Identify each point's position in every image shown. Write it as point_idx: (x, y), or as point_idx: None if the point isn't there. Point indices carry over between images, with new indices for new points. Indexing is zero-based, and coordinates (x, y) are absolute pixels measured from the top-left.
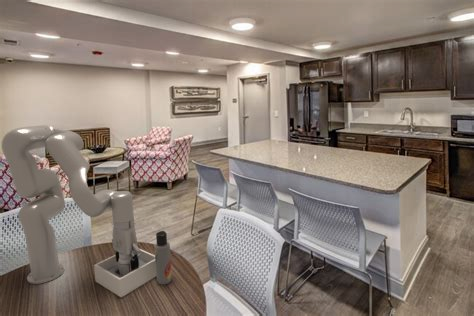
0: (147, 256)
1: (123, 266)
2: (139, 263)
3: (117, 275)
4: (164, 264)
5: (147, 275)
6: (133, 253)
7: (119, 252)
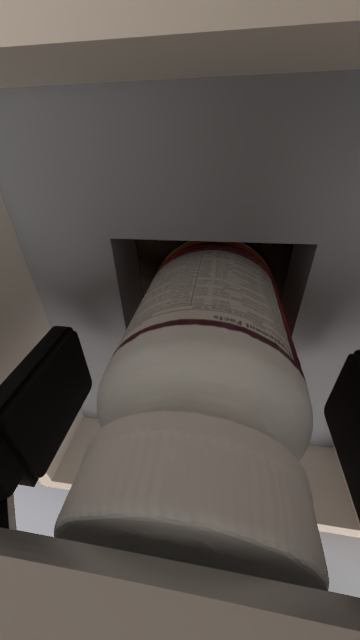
0: None
1: (149, 317)
2: None
3: (223, 222)
4: None
5: None
6: (341, 467)
7: (173, 596)
